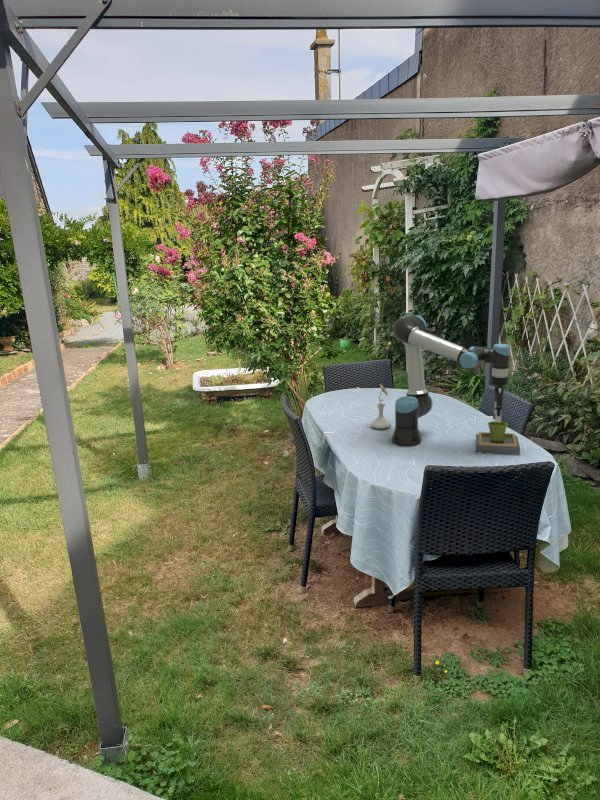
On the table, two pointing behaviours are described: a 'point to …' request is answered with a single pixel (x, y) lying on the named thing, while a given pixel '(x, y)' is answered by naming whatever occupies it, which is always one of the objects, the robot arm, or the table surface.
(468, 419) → the table surface
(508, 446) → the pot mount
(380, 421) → the flower in vase
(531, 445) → the table surface
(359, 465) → the table surface
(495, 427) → the plant pot
